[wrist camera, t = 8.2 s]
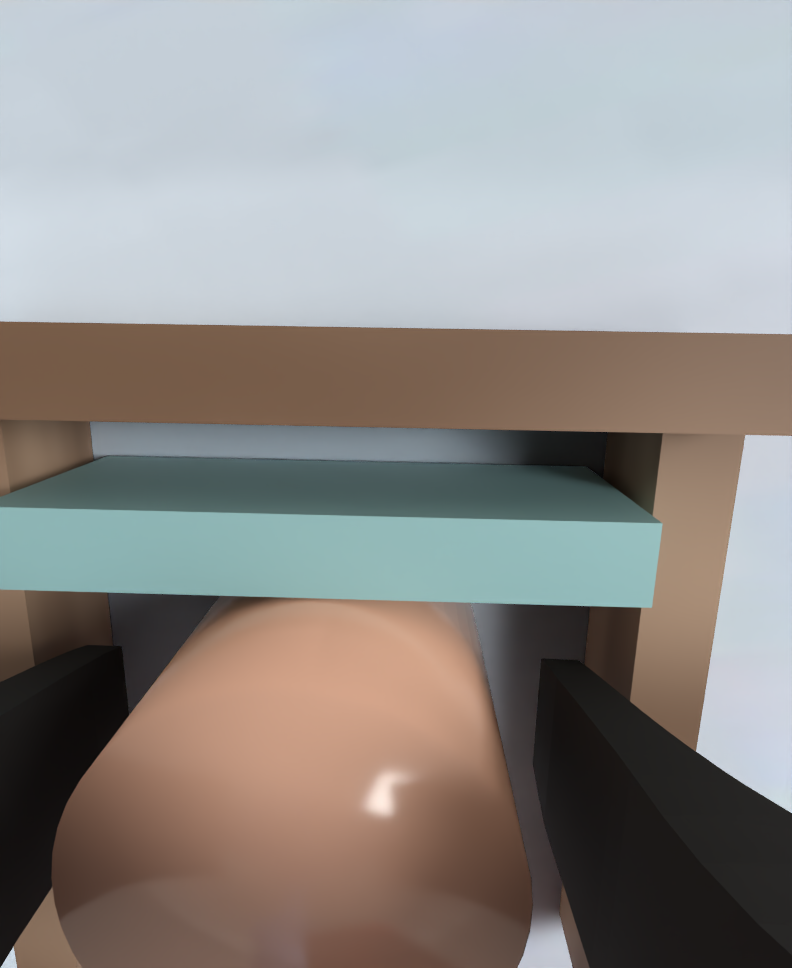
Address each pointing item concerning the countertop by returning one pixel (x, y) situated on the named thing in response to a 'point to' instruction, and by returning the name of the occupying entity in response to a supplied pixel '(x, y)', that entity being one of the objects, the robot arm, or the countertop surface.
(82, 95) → the countertop surface
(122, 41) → the countertop surface
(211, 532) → the plate
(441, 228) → the countertop surface
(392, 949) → the tan rounded cylinder
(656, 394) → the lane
